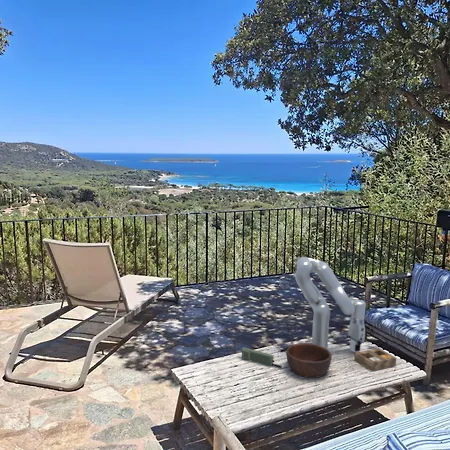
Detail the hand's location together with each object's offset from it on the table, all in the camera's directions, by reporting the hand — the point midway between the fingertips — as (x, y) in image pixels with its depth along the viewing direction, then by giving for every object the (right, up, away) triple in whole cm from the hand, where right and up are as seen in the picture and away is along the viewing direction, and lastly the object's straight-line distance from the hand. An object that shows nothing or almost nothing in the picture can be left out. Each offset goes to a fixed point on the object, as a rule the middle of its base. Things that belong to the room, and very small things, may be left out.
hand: (354, 348), depth 251 cm
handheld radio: (-59, -4, -15) cm, 61 cm away
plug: (0, -1, 0) cm, 1 cm away
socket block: (+8, -5, -13) cm, 16 cm away
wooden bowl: (-33, -5, -22) cm, 40 cm away
